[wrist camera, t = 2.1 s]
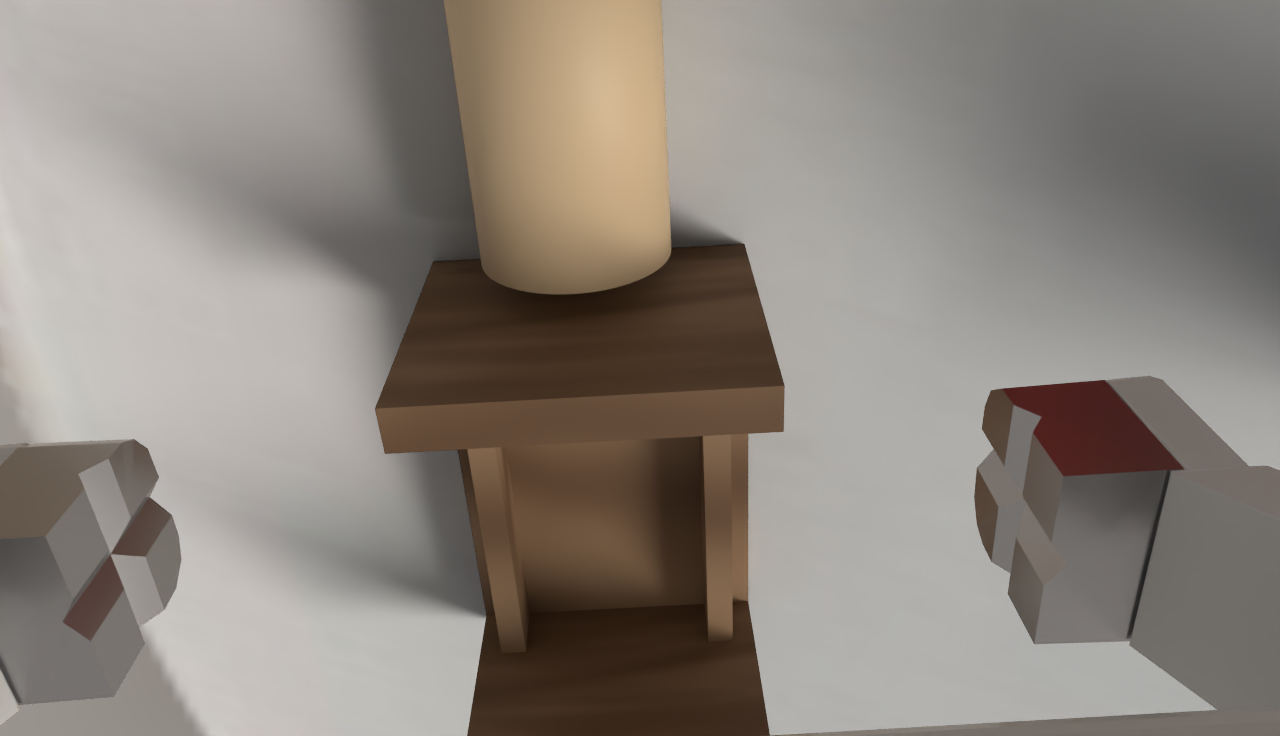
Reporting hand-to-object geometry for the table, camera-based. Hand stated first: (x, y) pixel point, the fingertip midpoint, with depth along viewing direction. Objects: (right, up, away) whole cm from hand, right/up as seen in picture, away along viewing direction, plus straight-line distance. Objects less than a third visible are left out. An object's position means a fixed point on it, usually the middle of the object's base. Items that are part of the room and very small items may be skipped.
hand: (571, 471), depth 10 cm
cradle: (0, -2, +23) cm, 23 cm away
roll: (-1, +10, +16) cm, 19 cm away
